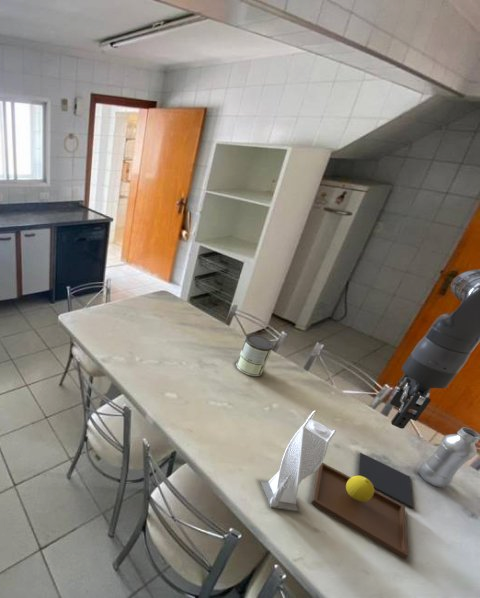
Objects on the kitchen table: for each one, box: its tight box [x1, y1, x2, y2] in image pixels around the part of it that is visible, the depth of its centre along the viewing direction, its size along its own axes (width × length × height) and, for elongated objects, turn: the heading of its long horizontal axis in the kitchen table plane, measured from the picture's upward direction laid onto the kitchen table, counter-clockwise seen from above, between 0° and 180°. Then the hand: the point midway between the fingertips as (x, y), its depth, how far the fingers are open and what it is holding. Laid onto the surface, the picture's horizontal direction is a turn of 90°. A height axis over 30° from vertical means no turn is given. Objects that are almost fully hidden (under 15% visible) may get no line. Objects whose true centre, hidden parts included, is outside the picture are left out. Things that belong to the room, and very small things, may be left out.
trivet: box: [357, 452, 414, 509], centre depth 97 cm, size 12×12×1 cm
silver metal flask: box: [417, 426, 480, 488], centre depth 93 cm, size 6×7×20 cm
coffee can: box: [235, 333, 274, 377], centre depth 136 cm, size 10×10×14 cm
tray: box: [311, 462, 410, 560], centre depth 88 cm, size 20×16×2 cm
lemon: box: [346, 475, 375, 502], centre depth 89 cm, size 6×6×8 cm
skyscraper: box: [260, 410, 337, 512], centre depth 84 cm, size 8×8×28 cm
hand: (395, 415), depth 77 cm, fingers open, 8 cm apart
